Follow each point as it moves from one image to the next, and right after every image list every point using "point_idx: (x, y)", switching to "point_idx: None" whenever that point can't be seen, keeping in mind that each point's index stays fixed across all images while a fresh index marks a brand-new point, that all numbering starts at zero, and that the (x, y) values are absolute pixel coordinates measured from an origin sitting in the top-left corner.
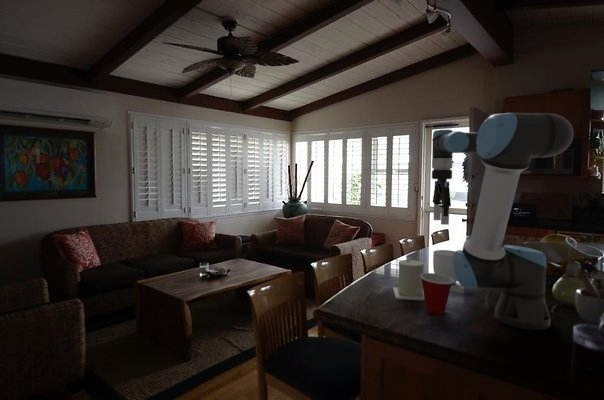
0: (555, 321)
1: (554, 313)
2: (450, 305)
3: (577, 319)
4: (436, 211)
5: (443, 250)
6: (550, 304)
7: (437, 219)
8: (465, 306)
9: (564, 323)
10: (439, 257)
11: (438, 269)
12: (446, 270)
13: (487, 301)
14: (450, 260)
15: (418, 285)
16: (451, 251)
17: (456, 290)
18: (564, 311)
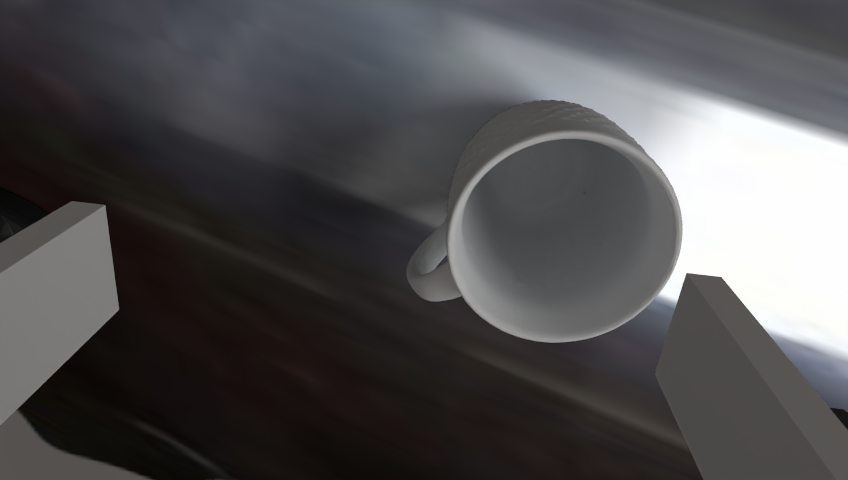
0: None
1: (120, 422)
2: (112, 37)
3: (77, 455)
4: (741, 422)
5: (671, 251)
6: (224, 462)
7: (672, 335)
8: (116, 113)
9: None
10: (490, 148)
11: (495, 119)
12: (457, 165)
13: (216, 249)
14: (446, 217)
15: None
16: (634, 304)
17: (382, 168)
18: (152, 463)
